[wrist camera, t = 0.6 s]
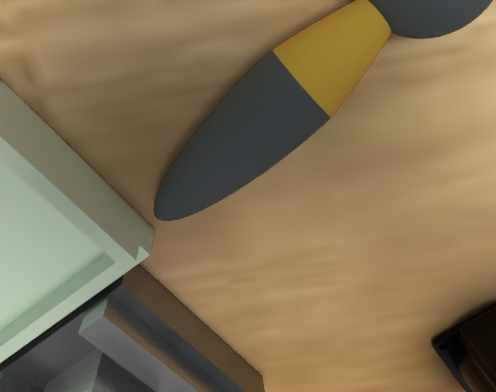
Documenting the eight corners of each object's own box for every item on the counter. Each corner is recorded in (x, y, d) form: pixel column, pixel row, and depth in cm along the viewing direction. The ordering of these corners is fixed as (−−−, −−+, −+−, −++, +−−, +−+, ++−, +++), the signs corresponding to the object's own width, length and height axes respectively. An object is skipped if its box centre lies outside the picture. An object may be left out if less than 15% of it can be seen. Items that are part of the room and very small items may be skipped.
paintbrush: (216, 244, 22) (221, 306, 18) (138, 191, 21) (121, 245, 16) (524, -82, 17) (639, -110, 13) (456, -191, 15) (562, -267, 11)
